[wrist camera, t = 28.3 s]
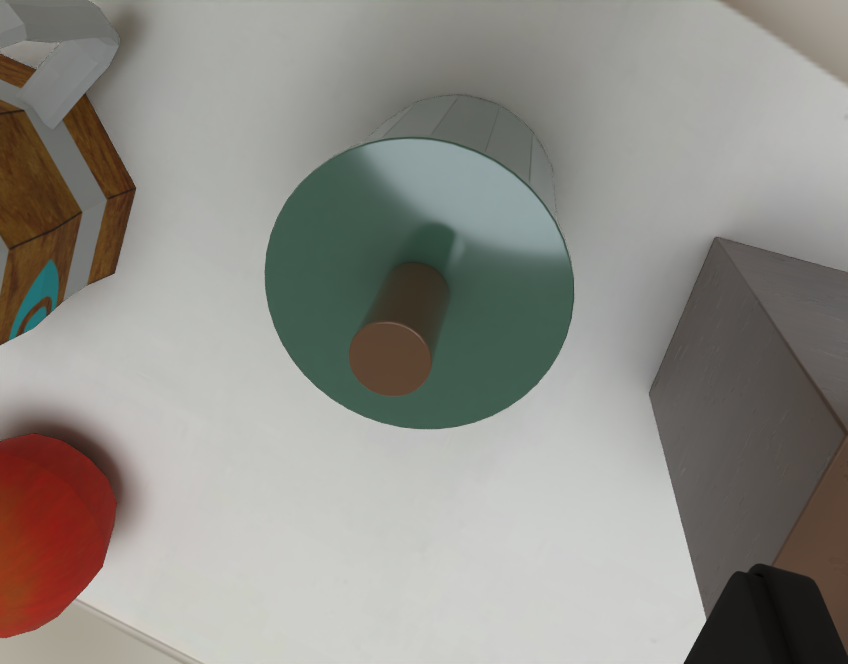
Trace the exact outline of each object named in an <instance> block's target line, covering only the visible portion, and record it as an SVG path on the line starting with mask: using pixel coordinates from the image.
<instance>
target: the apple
mask: <svg viewBox="0 0 848 664" xmlns="http://www.w3.org/2000/svg"><path fill="white" fill-rule="evenodd" d="M116 506H117V502H116V499H115V497H114V494H113V491H112V488H111V486H110V483H109V480H108V478H107V477H106V476H105V475H104V474H103V473H102V472H101V471H100V470H99V468H98V467H97V466H96V465H95V464H94V463H93V462H92V461H91V460H90V459H89V458H88V457H87V456H85V455H84V454H82V453H81V452H79V451H78V450H76V449H75V448H73V447H72V446H70V445H69V444H67V443H66V442H64V441H62V440H58V439H55V438H51V437H47V436H43V435H39V434H36V433H34V434H28V435H23V436H18V437H13V438H8V439H5V440H3V441H0V638H8V637H11V636H15V635H19V634H22V633H25V632H29V631H33V630H36V629H38V628H39V627H41V626H43V625H44V624H46V623H48V622H50V621H51V620H53V619H55V618H56V617H58V616H59V615H60V614H61V613H62V612H63V610H64V609H65V608H66V607H67V606H68V605H69V604H70V603H71V602H72V601H73V600H74V599H75V598H76V597H77V596H78V595H79V594H80V593H81V592H82V591H83V590H84V589H85V588H86V587H87V586H88V584H89V583H90V582H91V581H92V579H93V578H94V577H95V576H96V574H97V573H98V572H99V571H100V569H101V568H102V567H103V564H104V560H105V556H106V553H107V549H108V546H109V542H110V538H111V535H112V531H113V528H114V523H115V514H116Z"/></svg>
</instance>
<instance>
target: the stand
mask: <svg viewBox="0 0 848 664" xmlns="http://www.w3.org/2000/svg"><path fill="white" fill-rule="evenodd" d="M649 396H650V400H651V404H652V408H653V412H654V416H655V420H656V424H657V428H658V432H659V436H660V440H661V443H662V447H663V451H664V455H665V459H666V463H667V467H668V471H669V475H670V479H671V483H672V487H673V490H674V494H675V498H676V502H677V506H678V510H679V514H680V518H681V522H682V526H683V530H684V533H685V537H686V541H687V545H688V549H689V553H690V557H691V561H692V565H693V569H694V573H695V577H696V580H697V584H698V588H699V592H700V596H701V600H702V604H703V608H704V612H705V616H706V620H707V619H708V617H709V615H710V613H711V612H712V610H713V608H714V606H715V604H716V602H717V600H718V599H719V597H720V595H721V593H722V591H723V589H724V587H725V586H726V584H727V582H728V580H729V579H730V577H731V576H732V574H733V573H735V572H736V571H742V572H746V573H747V572H748V571H749V569H750V568H751V567H752V566H754V565H755V564H759V563H762V564H766V565H769V566H773V567H776V568H780V569H783V570H787V571H790V572H794V573H798V574H801V575H805V576H808V577H810V578H811V579H813V580H814V581H815V583H816V584H817V586H818V587H819V590H820V592H821V594H822V597H823V599H824V602H825V604H826V606H827V609H828V611H829V613H830V616H831V618H832V620H833V623H834V625H835V627H836V630H837V632H838V634H839V637H840V639H841V641H842V644H843V646H844V648H845V651H846V653H847V655H848V273H846V272H843V271H839V270H835V269H832V268H828V267H825V266H821V265H817V264H814V263H810V262H806V261H803V260H799V259H795V258H792V257H788V256H784V255H781V254H777V253H773V252H770V251H766V250H763V249H759V248H755V247H752V246H748V245H744V244H741V243H737V242H733V241H730V240H726V239H722V238H719V237H716V238H715V239H714V242H713V244H712V246H711V249H710V251H709V253H708V256H707V258H706V260H705V263H704V265H703V268H702V270H701V272H700V275H699V277H698V279H697V282H696V284H695V286H694V289H693V291H692V293H691V296H690V298H689V301H688V303H687V305H686V308H685V310H684V312H683V315H682V317H681V319H680V322H679V324H678V326H677V329H676V331H675V333H674V336H673V338H672V341H671V343H670V345H669V348H668V350H667V352H666V355H665V357H664V359H663V362H662V364H661V366H660V369H659V371H658V373H657V376H656V378H655V381H654V383H653V385H652V388H651V390H650V392H649Z"/></svg>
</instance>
